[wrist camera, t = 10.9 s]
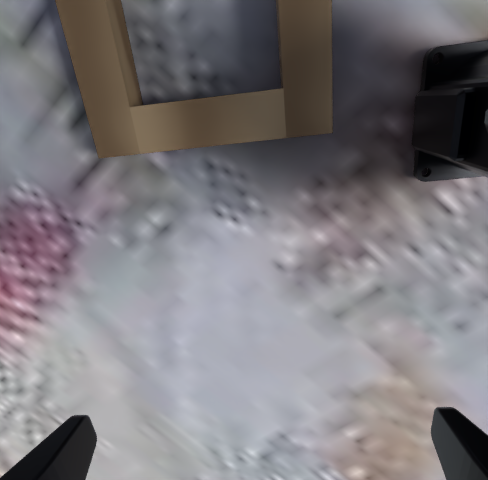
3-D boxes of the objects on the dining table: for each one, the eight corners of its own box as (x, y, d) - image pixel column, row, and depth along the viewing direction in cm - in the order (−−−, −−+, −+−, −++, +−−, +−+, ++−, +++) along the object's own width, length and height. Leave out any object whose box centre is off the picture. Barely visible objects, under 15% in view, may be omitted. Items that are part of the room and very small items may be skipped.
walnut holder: (321, -182, 13) (330, -227, 11) (325, 129, 18) (332, 132, 16) (43, -127, 14) (10, -160, 13) (114, 152, 19) (98, 158, 17)
